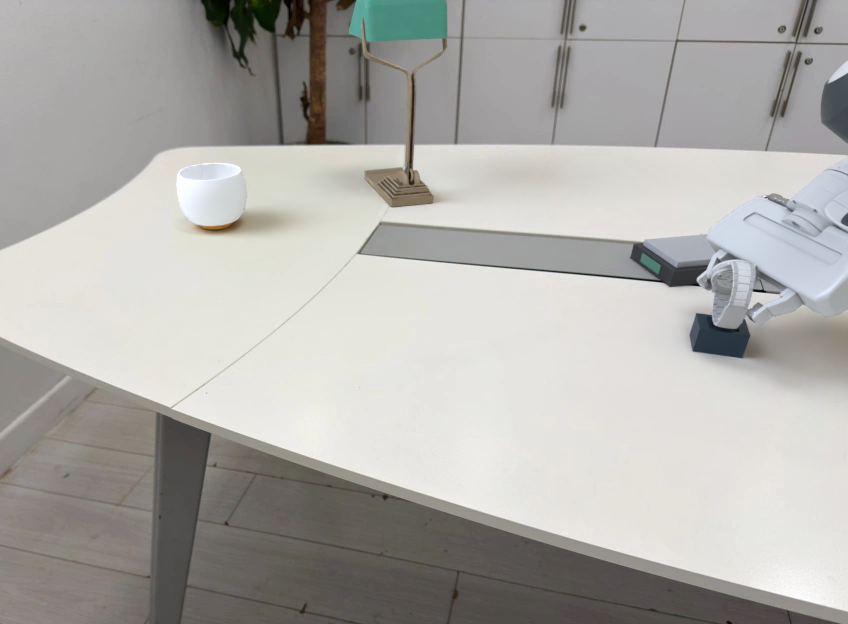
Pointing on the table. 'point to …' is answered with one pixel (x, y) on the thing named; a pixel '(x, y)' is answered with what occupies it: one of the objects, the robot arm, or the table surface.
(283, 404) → the table surface
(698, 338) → the watch
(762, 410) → the table surface
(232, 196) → the cup
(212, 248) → the table surface
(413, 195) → the banker's lamp
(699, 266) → the scale
